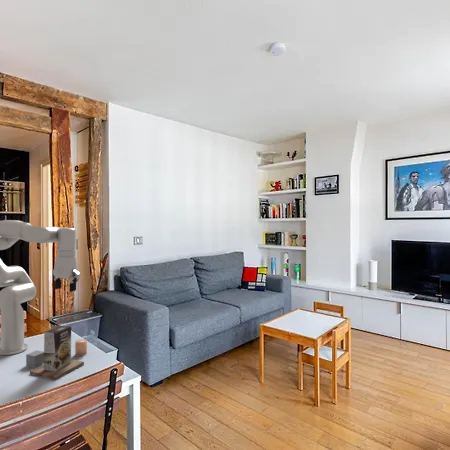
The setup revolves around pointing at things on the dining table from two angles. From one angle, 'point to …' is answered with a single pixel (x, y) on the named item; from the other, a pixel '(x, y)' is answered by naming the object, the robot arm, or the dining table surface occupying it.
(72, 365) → the walnut board
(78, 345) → the terracotta cylinder
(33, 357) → the grey block
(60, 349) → the coffee box
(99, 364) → the dining table surface
